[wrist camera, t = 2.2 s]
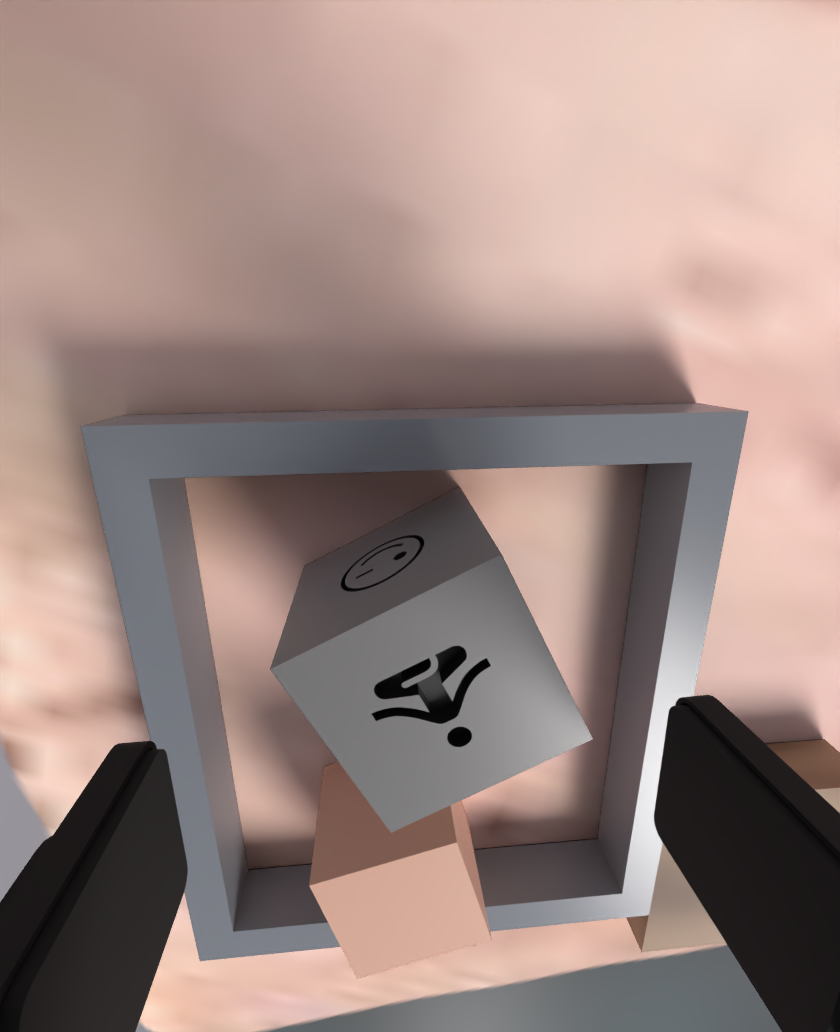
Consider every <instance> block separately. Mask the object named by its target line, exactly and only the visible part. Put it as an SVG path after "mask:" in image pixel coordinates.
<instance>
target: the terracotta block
mask: <svg viewBox="0 0 840 1032" xmlns="http://www.w3.org/2000/svg"><path fill="white" fill-rule="evenodd" d="M309 886H310V888H311V890H312V892H313V894H314V896H315V898H316V900H317V902H318V904H319V906H320V908H321V910H322V912H323V914H324V915H325V917H326V919H327V921H328V923H329V925H330V927H331V929H332V931H333V933H334V935H335V937H336V939H337V941H338V943H339V945H340V946H341V948H342V950H343V952H344V954H345V956H346V958H347V960H348V962H349V964H350V966H351V968H352V970H353V972H354V974H355V976H356V978H357V979H359V978H362V977H366V976H369V975H373V974H376V973H379V972H383V971H386V970H390V969H393V968H397V967H400V966H403V965H407V964H410V963H414V962H417V961H421V960H424V959H427V958H431V957H434V956H438V955H441V954H445V953H448V952H451V951H455V950H458V949H462V948H465V947H469V946H472V945H475V944H479V943H482V942H486V941H489V940H492V939H491V934H490V929H489V924H488V919H487V914H486V909H485V904H484V899H483V894H482V889H481V884H480V879H479V874H478V869H477V864H476V859H475V854H474V849H473V844H472V839H471V834H470V829H469V824H468V819H467V816H466V813H465V810H464V807H463V804H462V801H458V802H456V803H454V804H452V805H450V806H448V807H445V808H443V809H441V810H439V811H437V812H435V813H433V814H430V815H428V816H426V817H424V818H422V819H420V820H417V821H415V822H413V823H411V824H409V825H407V826H404V827H402V828H400V829H398V830H396V831H394V832H392V833H391V832H390V831H389V829H388V828H387V827H386V825H385V824H384V823H383V821H382V820H381V818H380V817H379V816H378V814H377V813H376V812H375V810H374V809H373V808H372V806H371V805H370V804H369V802H368V801H367V800H366V798H365V797H364V796H363V794H362V793H361V791H360V790H359V789H358V787H357V786H356V785H355V783H354V782H353V781H352V779H351V778H350V777H349V775H348V774H347V773H346V771H345V770H344V768H343V767H342V766H341V764H340V763H339V762H338V763H335V764H331V765H328V766H324V767H323V775H322V783H321V792H320V800H319V808H318V817H317V825H316V833H315V841H314V850H313V858H312V866H311V875H310V883H309Z"/></svg>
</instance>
